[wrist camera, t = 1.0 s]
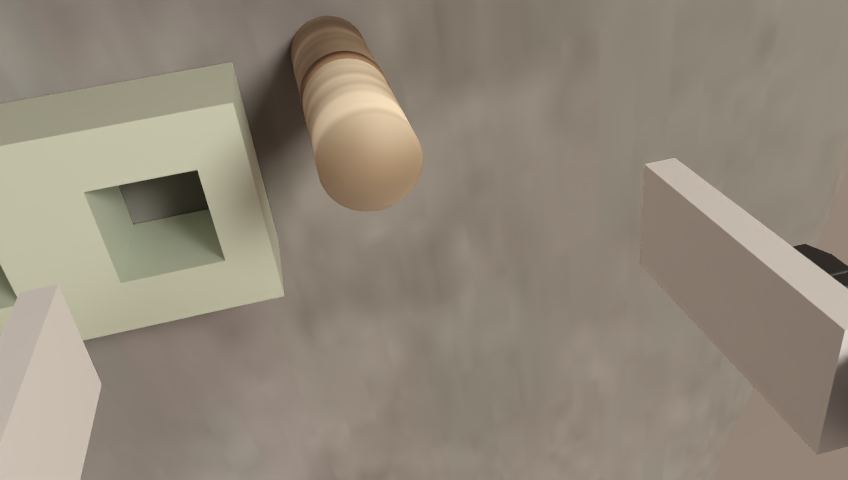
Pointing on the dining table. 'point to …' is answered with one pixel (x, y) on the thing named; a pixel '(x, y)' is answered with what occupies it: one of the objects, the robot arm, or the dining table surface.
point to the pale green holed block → (107, 212)
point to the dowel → (353, 118)
